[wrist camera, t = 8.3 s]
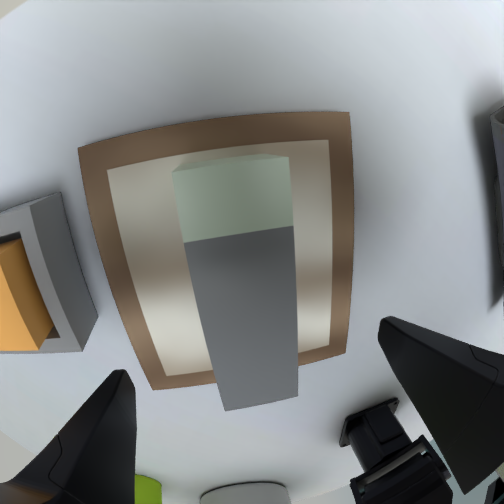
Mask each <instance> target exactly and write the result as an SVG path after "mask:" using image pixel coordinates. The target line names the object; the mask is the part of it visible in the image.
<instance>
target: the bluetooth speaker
mask: <svg viewBox="0 0 504 504" xmlns="http://www.w3.org/2000/svg"><path fill="white" fill-rule="evenodd" d="M490 120H491V127H492V134H493V141H494V148H495V154H496V160H497V171H498V175H497V177H496V178H495V204H496V216H497V228H498V245H499V256H500V261H501V263H502V266H503V268H504V106H503V107H502V108H500V109H499V110H498V111H496V112H495V113H493V114H492V115H490ZM503 285H504V283H503ZM503 305H504V303H503Z"/></svg>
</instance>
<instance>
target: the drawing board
mask: <svg viewBox="0 0 504 504" xmlns="http://www.w3.org/2000/svg"><path fill="white" fill-rule="evenodd" d="M254 154H271V155H278V156H285V157H289V168H290V181H291V194H292V209H293V225H294V243H295V263H296V288H297V322H298V366H301V365H305V364H309V363H313V362H316V361H320V360H324V359H327V358H331V357H334V356H338V355H341V354H344V353H346V344H347V335H348V326H349V315H350V304H351V290H352V273H353V249H354V179H353V156H352V140H351V126H350V115H349V112H285V113H267V114H253V115H242V116H232V117H223V118H214V119H207V120H200V121H193V122H187V123H181V124H175V125H169V126H164V127H159V128H154V129H149V130H144V131H140V132H135V133H131V134H126V135H122V136H118V137H114V138H111V139H107V140H103V141H99V142H96V143H92V144H89V145H85V146H82V147H79V148H78V155H79V162H80V168H81V174H82V179H83V185H84V190H85V195H86V200H87V205H88V209H89V214H90V218H91V222H92V226H93V230H94V234H95V238H96V242H97V245H98V249H99V253H100V256H101V259H102V263H103V266H104V269H105V273H106V276H107V279H108V282H109V285H110V288H111V291H112V294H113V297H114V300H115V303H116V305H117V308H118V311H119V314H120V316H121V319H122V322H123V324H124V327H125V329H126V332H127V334H128V337H129V339H130V342H131V344H132V346H133V349H134V351H135V353H136V356H137V358H138V360H139V362H140V365H141V367H142V369H143V371H144V373H145V375H146V377H147V380H148V382H149V384H150V386H151V388H152V390H162V389H172V388H181V387H190V386H197V385H204V384H211V383H217V382H216V379H215V375H214V371H213V368H212V364H211V360H210V357H209V353H208V349H207V345H206V341H205V337H204V333H203V329H202V325H201V321H200V317H199V313H198V308H197V304H196V300H195V295H194V291H193V286H192V282H191V277H190V272H189V268H188V263H187V258H186V253H185V248H184V243H183V237H182V232H181V227H180V221H179V216H178V210H177V204H176V198H175V192H174V186H173V179H172V173H171V172H172V171H173V170H175V169H176V168H177V167H178V166H179V165H182V164H188V163H194V162H200V161H207V160H214V159H221V158H229V157H237V156H245V155H254Z"/></svg>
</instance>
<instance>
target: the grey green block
mask: <svg viewBox="0 0 504 504" xmlns="http://www.w3.org/2000/svg"><path fill="white" fill-rule="evenodd" d="M171 173H172V179H173V186H174V192H175V198H176V204H177V210H178V216H179V221H180V227H181V232H182V237H183V243H184V248H185V253H186V258H187V263H188V268H189V272H190V277H191V282H192V286H193V291H194V295H195V300H196V304H197V308H198V313H199V317H200V321H201V325H202V329H203V333H204V337H205V341H206V345H207V349H208V353H209V357H210V360H211V364H212V368H213V371H214V375H215V379H216V382H217V386H218V389H219V393H220V396H221V399H222V403H223V406H224V410H225V411H230V410H236V409H241V408H247V407H252V406H257V405H262V404H267V403H271V402H276V401H280V400H284V399H289V398H293V397H297V396H298V322H297V288H296V263H295V243H294V225H293V209H292V194H291V181H290V168H289V157H285V156H278V155H271V154H254V155H245V156H237V157H229V158H221V159H214V160H207V161H200V162H194V163H188V164H182V165H179V166H178V167H177V168H176V169H175V170H173V171H172V172H171Z"/></svg>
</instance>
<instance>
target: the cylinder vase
mask: <svg viewBox="0 0 504 504" xmlns="http://www.w3.org/2000/svg"><path fill="white" fill-rule="evenodd" d="M200 504H291V501H290V498H289V494H288V491H287V490H286V488H285V487H283V486H281V485H278V484H274V483H247V484H238V485H232V486H227V487H223V488H219V489H216V490H213V491H211V492H208V493H207V494H205V495H204V496H203V497H202V498H201V500H200Z"/></svg>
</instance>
